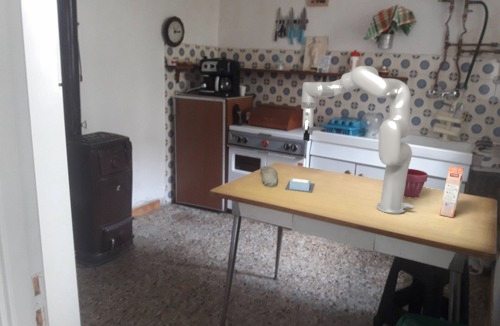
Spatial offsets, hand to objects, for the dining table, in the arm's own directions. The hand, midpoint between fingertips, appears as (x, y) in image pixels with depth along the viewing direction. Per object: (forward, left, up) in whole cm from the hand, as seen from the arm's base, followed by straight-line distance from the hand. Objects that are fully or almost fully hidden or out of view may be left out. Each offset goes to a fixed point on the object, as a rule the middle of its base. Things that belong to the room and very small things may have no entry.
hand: (306, 140), depth 207 cm
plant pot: (-56, -1, -24) cm, 61 cm away
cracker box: (-70, +20, -24) cm, 76 cm away
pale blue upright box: (0, +7, -22) cm, 23 cm away
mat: (0, +7, -24) cm, 25 cm away
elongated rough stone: (+19, -3, -25) cm, 32 cm away
